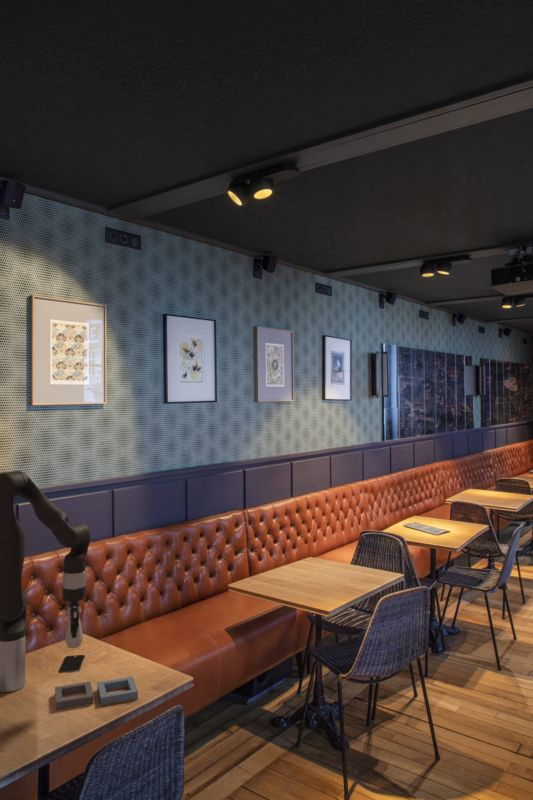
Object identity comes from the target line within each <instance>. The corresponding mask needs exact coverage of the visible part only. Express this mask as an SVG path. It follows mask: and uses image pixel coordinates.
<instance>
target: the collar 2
mask: <svg viewBox="0 0 533 800" xmlns="http://www.w3.org/2000/svg"><path fill="white" fill-rule="evenodd" d="M96 688H97V694H98V698H99V703H100V706H107V705H113V704H117V703H123V702H129V701H134V700H138V699H139V691H138V688H137V684H136V682H135V679H134V677H133V676H128V677H121V678H116V679H110V680H105V681H97V687H96ZM125 688H127V689H128V690H123V691H116V692H110V693H107V691H113V690H118V689H119V690H121V689H125Z"/></svg>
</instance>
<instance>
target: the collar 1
mask: <svg viewBox="0 0 533 800" xmlns="http://www.w3.org/2000/svg"><path fill="white" fill-rule="evenodd" d="M82 693H84V694H82ZM76 694H82V695H76ZM71 695H75V696H71ZM64 696H69V697H65V698H63V697H64ZM54 699H55V702H54V703H55V711H60V710H59V709H61V710H66V708H67V709H71V708H79V707H82V706H87V705H93V704H94V693H93V687H92V682H91V681H84V682H77V683H72V684H71V683H70V684H67V685H61V686H55V687H54Z"/></svg>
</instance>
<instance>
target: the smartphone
mask: <svg viewBox="0 0 533 800" xmlns="http://www.w3.org/2000/svg"><path fill="white" fill-rule="evenodd" d="M85 658H86V655H85V654H78V655H77V654H75V655H67V656H65V657H64V659H63V661H62V663H61V665H60V667H59V669H58V670H57V671H58V673H60V674H62V673H63V672H65V673H76V672H75V671H77V672H79V671H81V667H82V665H83V663H84V661H83V660H85ZM63 674H64V673H63Z"/></svg>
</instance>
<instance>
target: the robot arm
mask: <svg viewBox="0 0 533 800" xmlns="http://www.w3.org/2000/svg"><path fill="white" fill-rule="evenodd" d="M18 497H20V498H22V499H24V500H26V501H27V502H28V503H29V504H31V506H32V509H33V512H34V515H35V516H36V518H37V519H38V520H39V521H40V523H42V524H43V526H46V528H48V529H49V530H50V531H51V532H52V534H53V536H54V537H55V539H56V540H57V541H58V543H59V544H60V545H61V546H63V547H65V548H68V549H70V548H71V549H70V551H69V552H68V553H67V554H66V555H65V556H64V558H63V575H62V601H64V602H67V603H68V604H67V613H68V612H69V615H68V614H67V615H68V621H70V628H71V633H72V638H75V637H76V635H77V633H78V627H79V619H80V620H81V613H80V610H81V611H82V608H81V607H82V606H81V603H80V601H84V600H85V599H86V597H87V574H86V571H87V570H86V566H87V565H86V558H87V555H88V550H89V545H90V544H91V543H90V542H91V532H90V528H89V527H88V526H87V525H86V524H85V523H78V524H74V525H69V520H70V519H69V516H68V515H67V514H66V513H65V512H64V511H63V510H62V509H60V508H59V507H58V506H57V505H56V504H54V503H53V502H52V501H51V500H50V499H49V498H48V497H47V496H46V495H45V494H44V493H43V492H42V490H41V489H40V488H39V487H38V486H37V485H36V483H35V482H34V481H33V480H32V478H31V477H30V476H29V475H28V474H26V472H24V471H21V470H14V471H7V472H0V692H1V693H10V692H15V691H18V690H21V689H22V688H23V687H25V685H26V639H27V637H26V634H27V633H26V630H27V629H26V628H27V615H28V613H27V611H28V609H27V608H28V607H27V606H28V605H27V604H28V602H27V596H26V594H25V593H24V591H23V587H22V586H23V585H22V583H23V582H22V578H23V577H22V575H23V570H24V564H25V557H26V556H25V555H26V554H25V553H26V535H25V532H24V528H23V527H22V526H21V524H20V522H19V520H18V519H17V517H16V515H15V509H14V498H18ZM73 622H77V623H75V624H72V623H73ZM74 632H75V633H74Z"/></svg>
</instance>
